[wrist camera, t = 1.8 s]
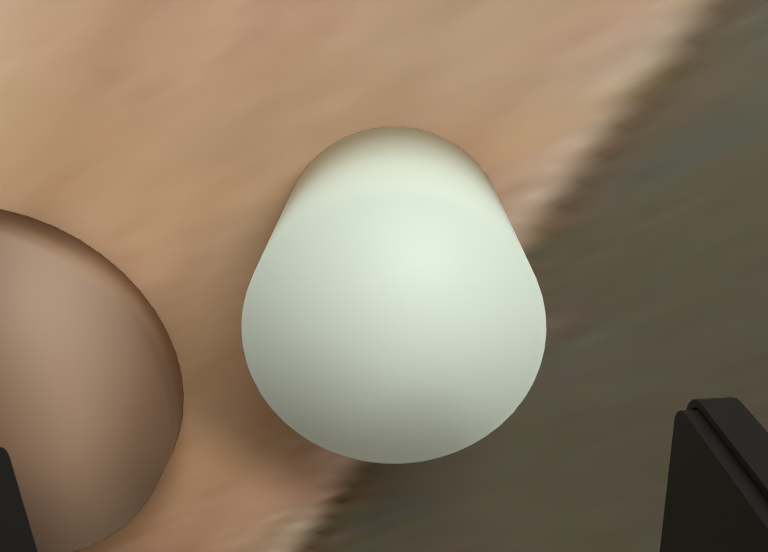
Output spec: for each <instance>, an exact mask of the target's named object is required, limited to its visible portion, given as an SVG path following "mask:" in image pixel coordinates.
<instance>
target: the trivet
mask: <svg viewBox="0 0 768 552" xmlns="http://www.w3.org/2000/svg"><path fill="white" fill-rule="evenodd" d="M183 396H184V395H183V385H182V376H181V371H180V367H179V363H178V360H177V356H176V352H175V350H174V347H173V345H172V343H171V340H170V338H169V335H168V333H167V331H166V329H165V327H164V325H163V324H162V322H161V320H160V318H159V317H158V315H157V313H156V311H155V310H154V309H153V307H152V306H151V305H150V303H149V302H148V301H147V299H146V298H145V297H144V295H143V294H142V293H141V291H140V290H139V289H138V288H137V287H136V286H135V285H134V284H133V283H132V282H131V281H130V280H129V278H128V277H127V276H126V275H125V274H124V273H123V272H122V271H121V270H119V269H118V268H117V267H116V266H115V265H114V264H112V263H111V262H110V261H109V260H108V259H106V258H105V257H104V256H103V255H102V254H100V253H99V252H97V251H96V250H94V249H93V248H91V247H90V246H88V245H87V244H85V243H84V242H82V241H81V240H79V239H77V238H75V237H73V236H72V235H70V234H68V233H66V232H64V231H62V230H60V229H58V228H56V227H54V226H52V225H49V224H46V223H44V222H41V221H39V220H36V219H33V218H31V217H28V216H25V215H21V214H17V213H13V212H9V211H5V210H1V209H0V447H2V448H5V449H6V451H7V452H8V454H9V456H10V460H11V463H12V466H13V470H14V473H15V477H16V480H17V483H18V487H19V490H20V494H21V497H22V500H23V504H24V507H25V510H26V514H27V517H28V521H29V524H30V527H31V531H32V534H33V538H34V541H35V544H36V548H37V551H38V552H75V551H78V550H81V549H84V548H86V547H88V546H91V545H93V544H95V543H97V542H99V541H101V540H103V539H105V538H106V537H108V536H109V535H111V534H112V533H114V532H116V531H117V530H119V529H120V528H121V527H122V526H124V525H125V524H126V523H127V522H128V521H129V520H130V519H131V518H133V517H134V516H135V515H136V514H137V512H138V511H139V510H140V509H141V508H142V506H143V505H144V504H145V503H146V502H147V500H148V499H149V497H150V495H151V494H152V492H153V490H154V488H155V487H156V485H157V483H158V481H159V479H160V477H161V475H162V473H163V470H164V468H165V466H166V464H167V462H168V460H169V457H170V455H171V453H172V451H173V448H174V445H175V443H176V440H177V438H178V435H179V431H180V426H181V421H182V416H183Z"/></svg>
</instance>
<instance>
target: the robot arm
mask: <svg viewBox="0 0 768 552" xmlns="http://www.w3.org/2000/svg"><path fill="white" fill-rule="evenodd" d="M0 552H38V551H37V548H36V544H35V541H34V538H33V534H32V531H31V527H30V524H29V521H28V517H27V514H26V510H25V507H24V504H23V500H22V497H21V494H20V490H19V487H18V483H17V480H16V477H15V473H14V470H13V466H12V463H11V460H10V456H9V454H8V452H7V451H6V449H5V448H2V447H0ZM660 552H768V433H767V431H766V430H765V429H764V428H763V427H762V426H761V424H760V423H759V422H758V421H757V420H756V419H755V418H754V416H753V415H752V414H751V413H750V412H749V411H748V410H747V408H746V407H745V406H744V405H743V404H742V403H741V402H740V401H739V400H738V399H737V398H732V397H729V398H711V399H693V400H692V401H690V403H689V404H688V406H687V410H683V411H678V412H677V414H676V416H675V421H674V429H673V438H672V447H671V456H670V465H669V474H668V483H667V492H666V501H665V510H664V519H663V528H662V537H661V546H660Z"/></svg>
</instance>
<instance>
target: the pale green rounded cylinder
mask: <svg viewBox="0 0 768 552" xmlns="http://www.w3.org/2000/svg"><path fill="white" fill-rule="evenodd" d="M241 330H242V344H243V349H244V354H245V358H246V362H247V365H248V368H249V371H250V373H251V376H252V379H253V380H254V382H255V384H256V386H257V388H258V390H259V392H260V393H261V395H262V396H263V398H264V399H265V400H266V402H267V403H268V405H269V406H270V407H271V409H272V410H273V411H274V412H275V413H276V414H277V415H278V416H279V417H280V418H281V419H282V420H283V421H284V422H285V423H286V424H287V425H288V426H290V427H291V428H292V429H293V430H294V431H296V432H297V433H298V434H300V435H301V436H303V437H304V438H306V439H308V440H309V441H311V442H312V443H314V444H316V445H318V446H320V447H322V448H324V449H326V450H328V451H331V452H334V453H337V454H340V455H342V456H345V457H349V458H353V459H357V460H362V461H368V462H376V463H393V464H402V463H413V462H421V461H426V460H431V459H436V458H439V457H442V456H445V455H448V454H452V453H455V452H457V451H459V450H461V449H463V448H466V447H468V446H470V445H472V444H474V443H475V442H477V441H479V440H480V439H482V438H484V437H485V436H487V435H488V434H489V433H491V432H492V431H493V430H495V429H496V428H497V427H499V426H500V425H501V424H502V423H503V422H504V421H505V420H506V419H507V418H508V417H509V416H510V415H511V414H512V413H513V412H514V411H515V409H516V408H517V407H518V406H519V404H520V403H521V402H522V400H523V399H524V398H525V396H526V394H527V393H528V391H529V389H530V388H531V386H532V384H533V382H534V380H535V377H536V375H537V373H538V370H539V368H540V365H541V361H542V357H543V353H544V348H545V339H546V313H545V308H544V303H543V298H542V294H541V291H540V288H539V285H538V283H537V280H536V277H535V275H534V273H533V271H532V269H531V266H530V264H529V262H528V260H527V258H526V256H525V253H524V251H523V249H522V247H521V245H520V243H519V241H518V238H517V236H516V234H515V232H514V230H513V228H512V225H511V223H510V221H509V219H508V217H507V215H506V213H505V210H504V208H503V206H502V204H501V202H500V200H499V197H498V195H497V193H496V191H495V189H494V187H493V185H492V183H491V181H490V179H489V178H488V176H487V175H486V174H485V172H484V171H483V169H482V168H481V167H480V166H479V165H478V163H477V162H476V161H475V160H474V159H473V158H472V157H471V156H470V155H469V154H467V153H466V152H465V151H464V150H462V149H461V148H460V147H458V146H457V145H455V144H453V143H452V142H450V141H448V140H447V139H445V138H442V137H440V136H438V135H435V134H433V133H430V132H426V131H423V130H419V129H413V128H406V127H382V128H373V129H369V130H365V131H361V132H357V133H355V134H352V135H350V136H347V137H345V138H343V139H341V140H339V141H338V142H336V143H334V144H332V145H331V146H329V147H328V148H327V149H325V150H324V151H323V152H321V153H320V154H319V155H318V156H317V157H316V158H315V159H314V160H313V161H312V162H311V163H310V164H309V165H308V166H307V168H306V169H305V170H304V172H303V173H302V174H301V176H300V177H299V179H298V181H297V183H296V184H295V186H294V188H293V190H292V192H291V194H290V196H289V199H288V201H287V203H286V205H285V207H284V209H283V211H282V214H281V216H280V218H279V220H278V222H277V224H276V226H275V229H274V231H273V233H272V235H271V237H270V239H269V242H268V244H267V246H266V248H265V250H264V252H263V254H262V257H261V259H260V261H259V263H258V265H257V267H256V269H255V272H254V274H253V276H252V279H251V281H250V284H249V287H248V289H247V292H246V296H245V301H244V305H243V311H242V324H241Z"/></svg>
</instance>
